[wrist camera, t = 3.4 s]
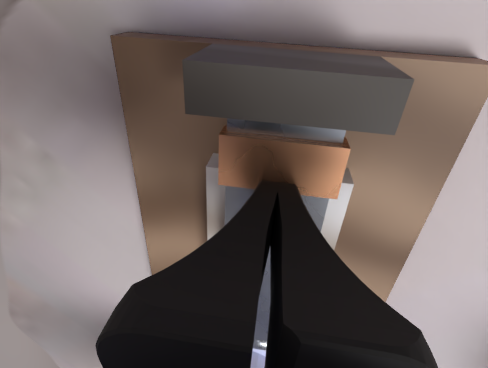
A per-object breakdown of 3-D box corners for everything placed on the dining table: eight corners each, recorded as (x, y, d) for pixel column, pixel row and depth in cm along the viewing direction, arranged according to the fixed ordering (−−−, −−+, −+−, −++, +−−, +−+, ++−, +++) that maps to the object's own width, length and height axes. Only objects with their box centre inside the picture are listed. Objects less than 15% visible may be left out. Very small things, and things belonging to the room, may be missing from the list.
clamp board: (360, 321, 20) (377, 405, 16) (165, 290, 22) (134, 360, 17) (479, 58, 11) (590, 94, 7) (128, 31, 12) (44, 48, 8)
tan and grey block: (293, 339, 18) (293, 363, 16) (221, 327, 18) (216, 350, 17) (347, 120, 11) (354, 134, 9) (227, 108, 11) (218, 120, 10)
